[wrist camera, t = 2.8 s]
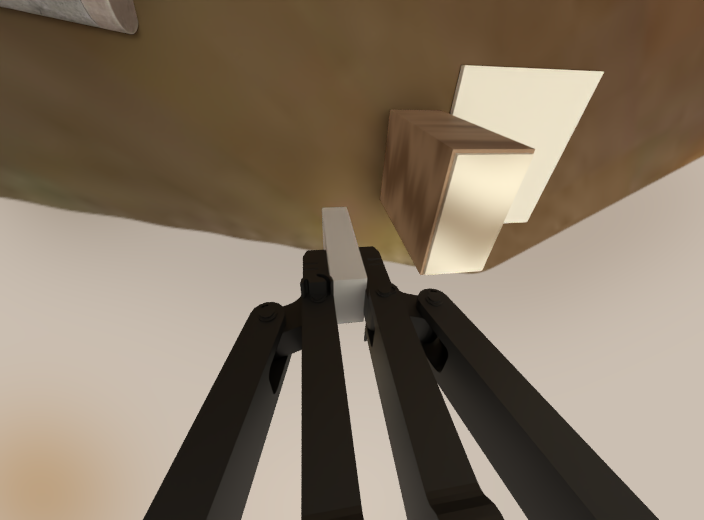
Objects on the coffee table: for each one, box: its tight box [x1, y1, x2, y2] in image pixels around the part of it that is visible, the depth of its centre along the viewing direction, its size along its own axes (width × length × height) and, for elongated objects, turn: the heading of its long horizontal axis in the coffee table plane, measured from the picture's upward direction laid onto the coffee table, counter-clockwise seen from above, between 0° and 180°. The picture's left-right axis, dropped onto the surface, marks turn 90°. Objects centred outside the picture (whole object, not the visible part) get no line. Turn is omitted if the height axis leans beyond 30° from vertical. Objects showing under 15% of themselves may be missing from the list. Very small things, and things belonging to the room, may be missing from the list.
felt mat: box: [450, 65, 604, 223], centre depth 29 cm, size 16×14×1 cm
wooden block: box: [380, 109, 535, 275], centre depth 22 cm, size 9×5×13 cm, turn 178°
